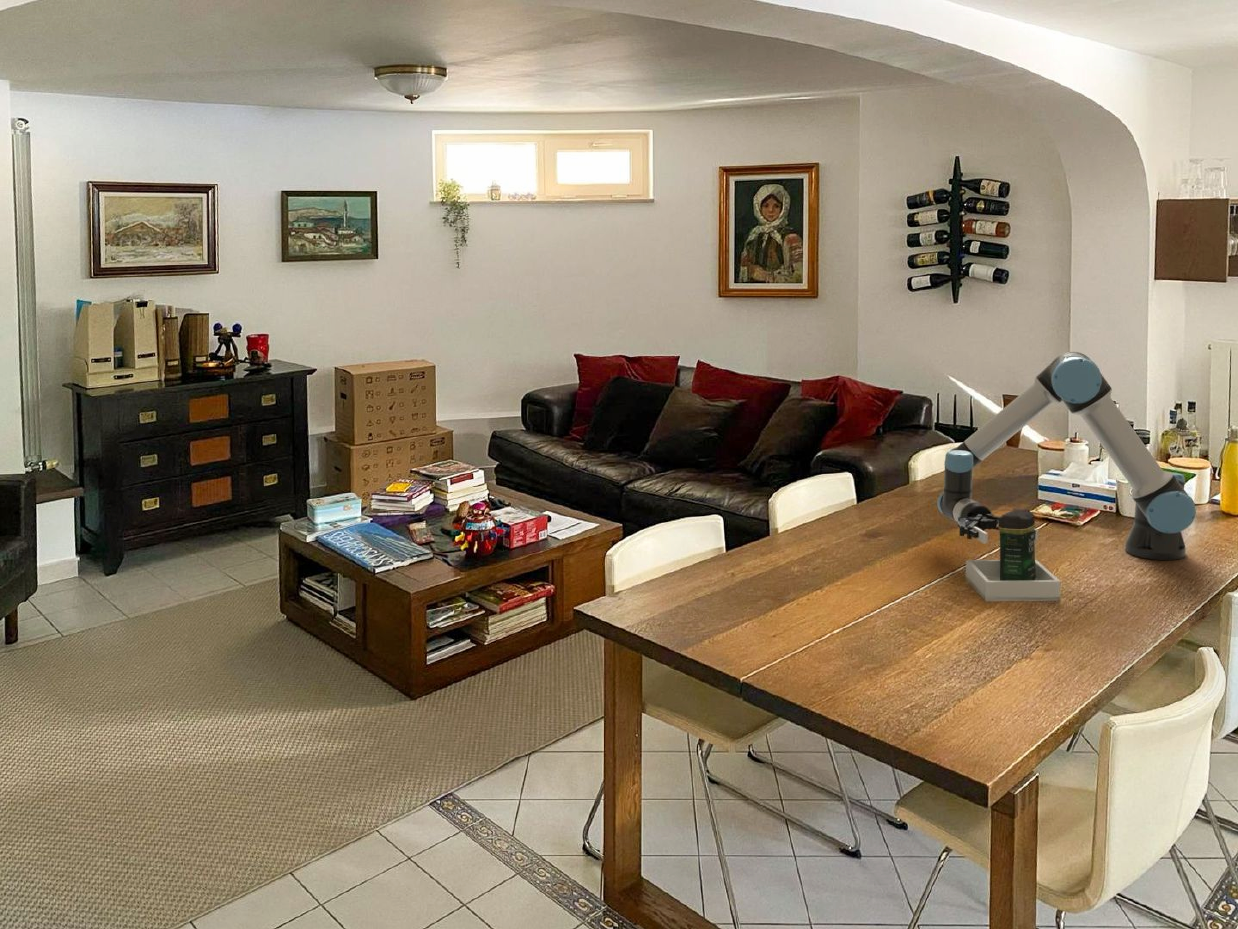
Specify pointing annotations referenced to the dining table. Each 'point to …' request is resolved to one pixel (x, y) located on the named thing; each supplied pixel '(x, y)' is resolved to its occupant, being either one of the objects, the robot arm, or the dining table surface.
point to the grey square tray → (1011, 583)
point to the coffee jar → (1017, 546)
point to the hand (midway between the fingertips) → (1011, 537)
